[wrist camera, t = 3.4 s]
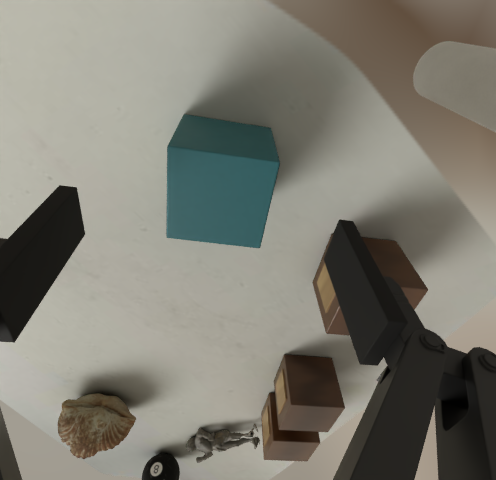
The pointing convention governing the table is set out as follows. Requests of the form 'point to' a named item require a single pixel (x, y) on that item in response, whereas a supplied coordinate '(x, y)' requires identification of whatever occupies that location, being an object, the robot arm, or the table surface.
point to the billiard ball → (161, 468)
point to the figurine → (218, 442)
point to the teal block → (220, 181)
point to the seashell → (94, 423)
